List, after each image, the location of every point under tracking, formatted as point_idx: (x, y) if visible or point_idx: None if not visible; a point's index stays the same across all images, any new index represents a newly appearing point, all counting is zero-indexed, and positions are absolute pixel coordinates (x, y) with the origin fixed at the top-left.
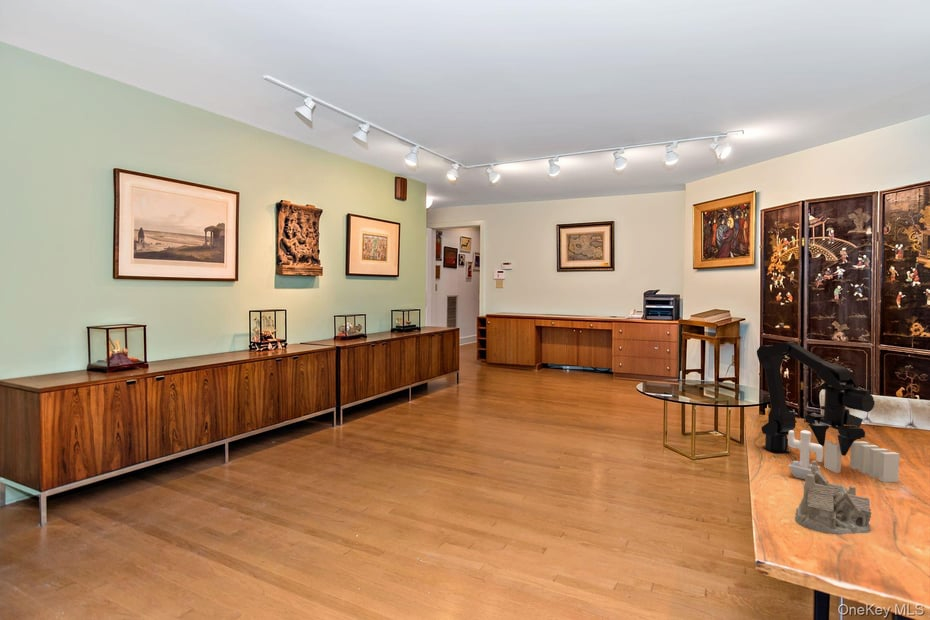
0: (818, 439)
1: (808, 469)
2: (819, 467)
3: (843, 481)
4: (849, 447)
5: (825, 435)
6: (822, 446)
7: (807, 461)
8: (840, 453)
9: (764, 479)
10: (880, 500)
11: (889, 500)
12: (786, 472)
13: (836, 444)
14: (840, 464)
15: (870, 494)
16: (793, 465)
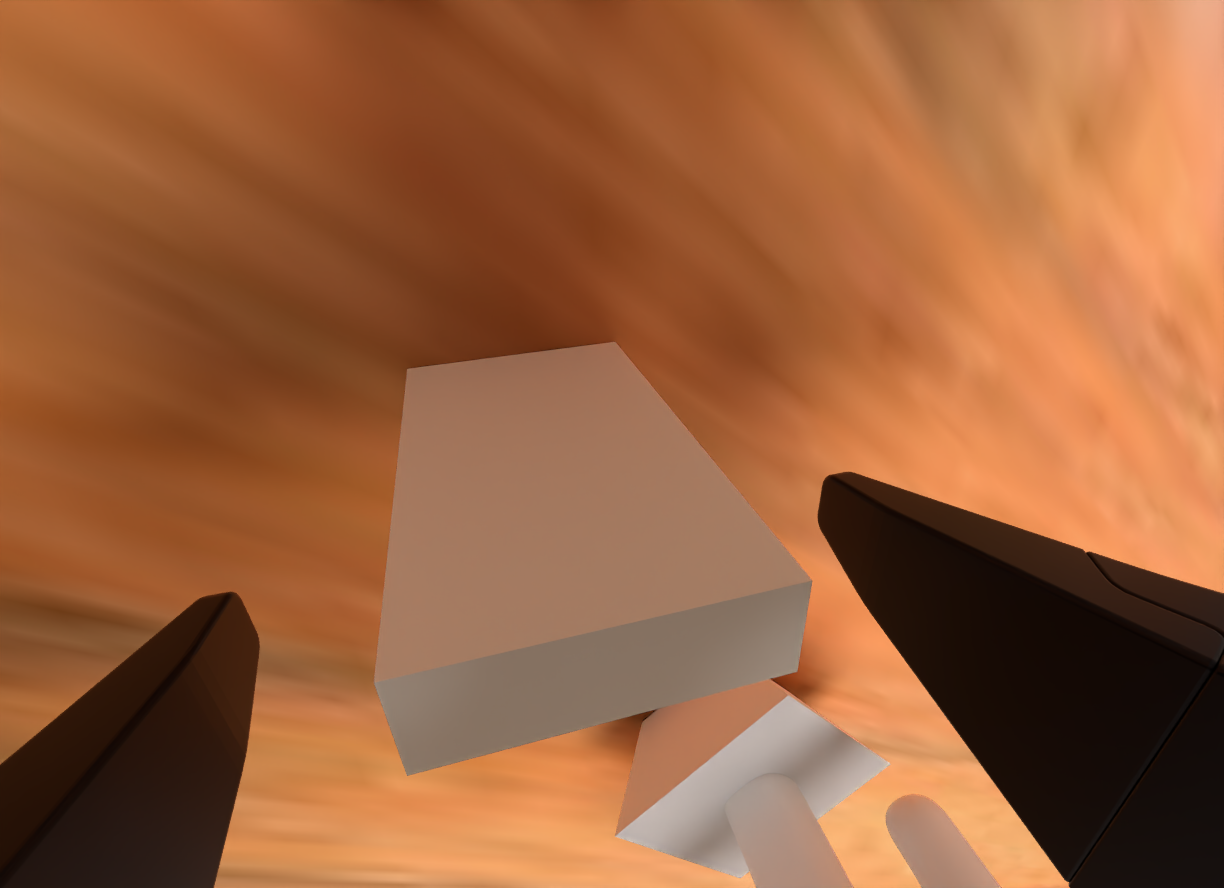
0: (221, 856)
1: (837, 790)
2: (805, 706)
3: (841, 466)
4: (1055, 554)
5: (21, 873)
6: (244, 610)
7: (831, 849)
8: (721, 487)
9: (728, 877)
10: (1170, 422)
11: (1204, 354)
12: (613, 776)
13: (696, 643)
14: (648, 386)
15: (1089, 421)
16: (738, 853)
